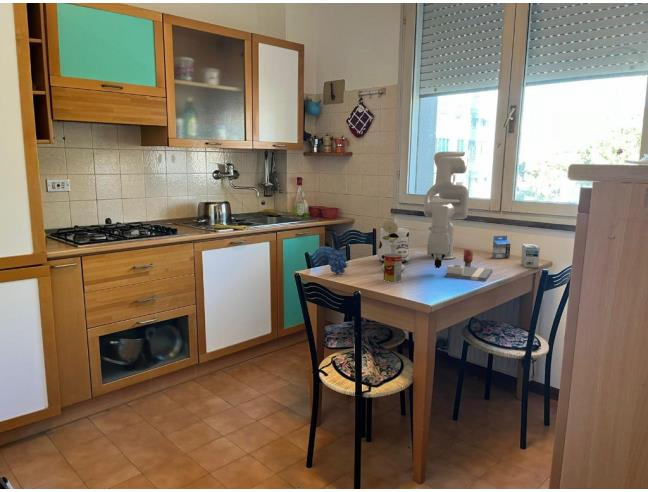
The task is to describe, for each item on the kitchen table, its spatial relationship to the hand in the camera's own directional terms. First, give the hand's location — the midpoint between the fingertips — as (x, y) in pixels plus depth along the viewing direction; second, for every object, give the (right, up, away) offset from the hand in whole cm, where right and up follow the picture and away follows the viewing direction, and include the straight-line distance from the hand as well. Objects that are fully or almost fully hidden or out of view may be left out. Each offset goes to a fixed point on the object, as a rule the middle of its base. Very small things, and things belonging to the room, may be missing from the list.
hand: (437, 267), depth 227 cm
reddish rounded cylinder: (+19, 0, +15) cm, 25 cm away
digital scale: (+15, -3, 0) cm, 16 cm away
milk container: (-17, +2, +28) cm, 33 cm away
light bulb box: (+53, 0, +19) cm, 56 cm away
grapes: (-48, -4, -2) cm, 48 cm away
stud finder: (+8, -2, -3) cm, 9 cm away
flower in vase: (-21, -2, +7) cm, 23 cm away
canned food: (-24, -6, -12) cm, 27 cm away
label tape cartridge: (+45, +3, +39) cm, 60 cm away
